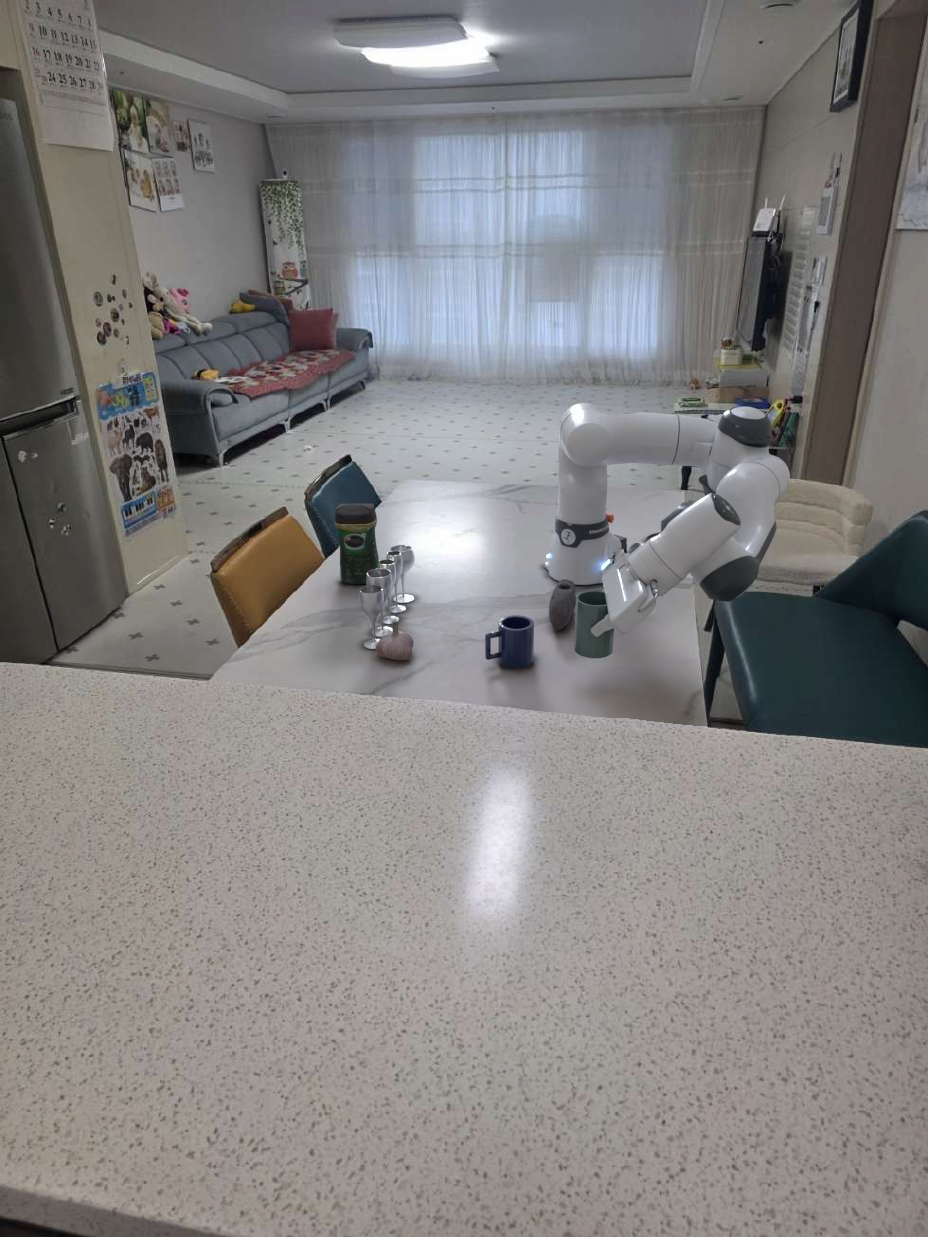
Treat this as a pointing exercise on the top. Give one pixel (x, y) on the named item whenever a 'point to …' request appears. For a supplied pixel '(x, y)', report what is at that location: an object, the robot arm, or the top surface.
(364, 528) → the coffee jar
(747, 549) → the robot arm
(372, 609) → the goblet set
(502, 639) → the mug
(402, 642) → the garlic bulb
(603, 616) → the green cup
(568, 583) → the perforated stone tool
